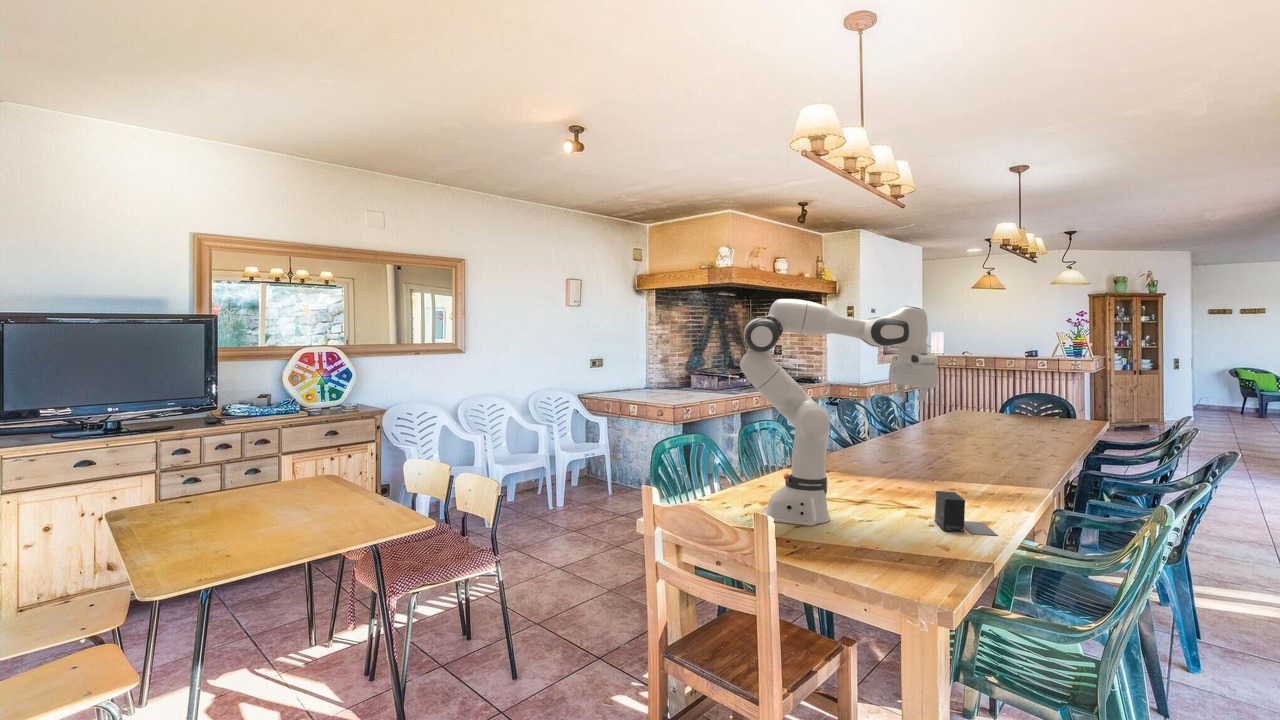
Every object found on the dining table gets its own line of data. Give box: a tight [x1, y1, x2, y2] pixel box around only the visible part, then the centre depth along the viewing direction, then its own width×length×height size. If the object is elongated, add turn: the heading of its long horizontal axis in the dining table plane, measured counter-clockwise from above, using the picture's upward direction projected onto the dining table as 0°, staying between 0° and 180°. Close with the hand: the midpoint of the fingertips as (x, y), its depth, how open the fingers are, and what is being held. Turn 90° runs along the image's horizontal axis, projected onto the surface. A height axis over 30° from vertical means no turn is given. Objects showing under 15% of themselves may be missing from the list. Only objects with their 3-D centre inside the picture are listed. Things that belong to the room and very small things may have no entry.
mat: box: [964, 520, 999, 537], centre depth 194 cm, size 8×13×1 cm, turn 169°
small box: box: [934, 490, 966, 533], centre depth 196 cm, size 11×6×10 cm, turn 168°
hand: (911, 399), depth 197 cm, fingers open, 8 cm apart
